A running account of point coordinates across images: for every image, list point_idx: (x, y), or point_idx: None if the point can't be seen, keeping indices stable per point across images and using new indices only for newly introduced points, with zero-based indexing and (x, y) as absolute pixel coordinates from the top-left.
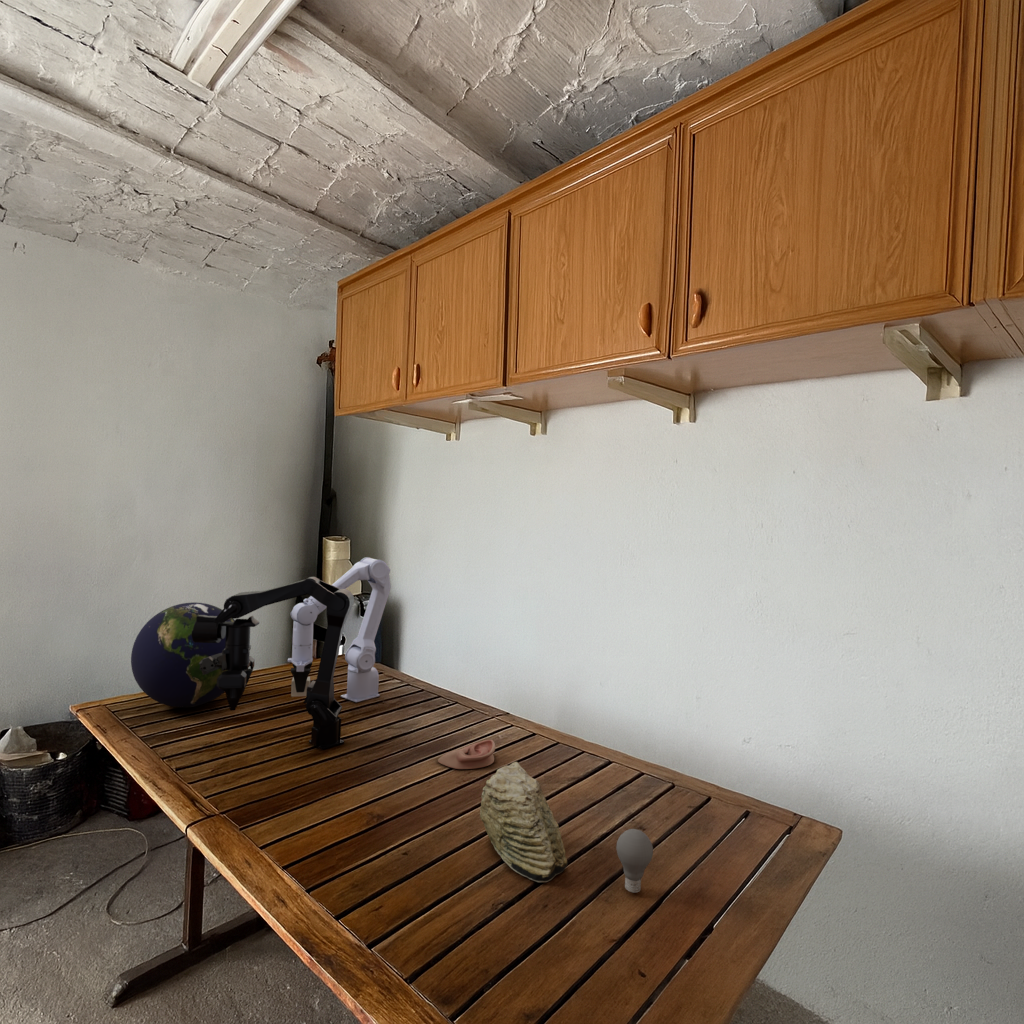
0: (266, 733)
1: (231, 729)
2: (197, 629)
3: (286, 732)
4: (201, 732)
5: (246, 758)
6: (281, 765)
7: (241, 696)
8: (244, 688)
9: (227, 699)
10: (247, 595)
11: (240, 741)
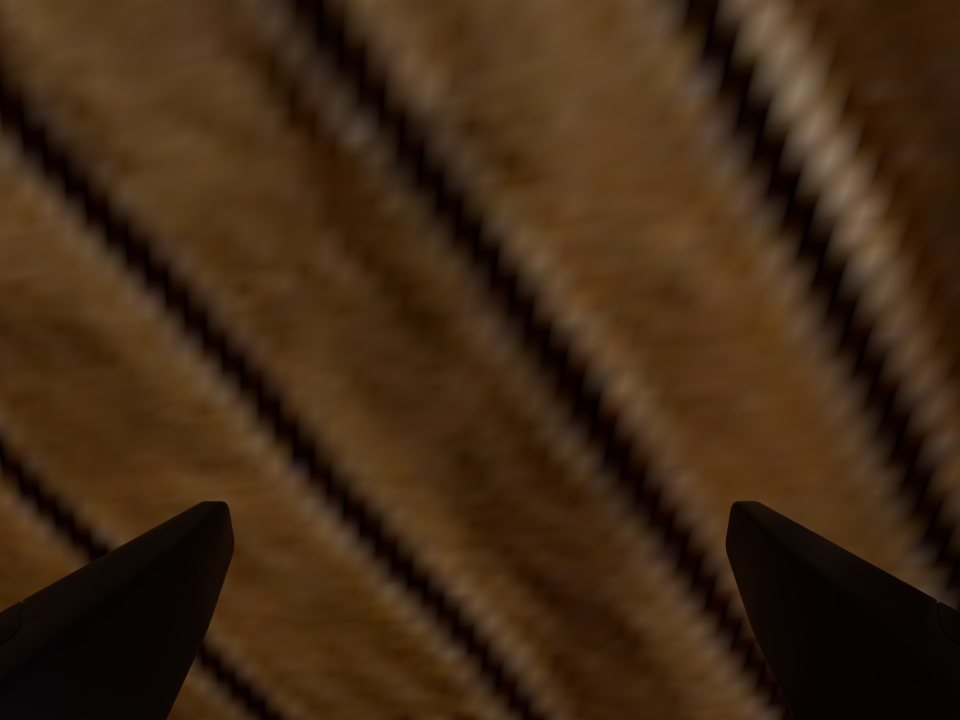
0: (623, 532)
1: (785, 278)
2: None
3: (613, 641)
4: (787, 18)
5: (165, 464)
6: None
7: (736, 581)
8: (793, 708)
9: (29, 597)
10: None
11: (492, 384)
